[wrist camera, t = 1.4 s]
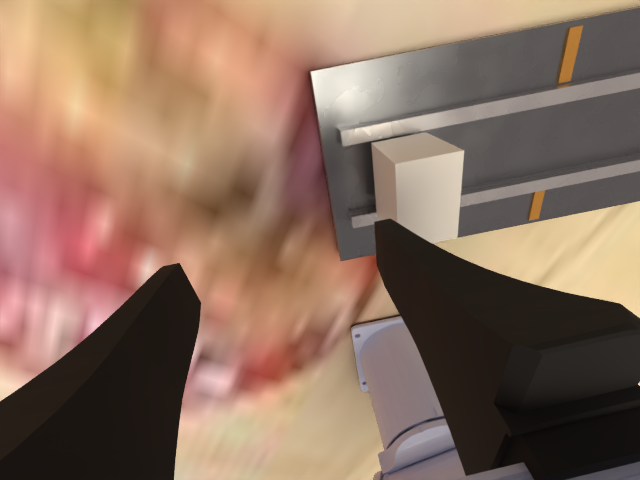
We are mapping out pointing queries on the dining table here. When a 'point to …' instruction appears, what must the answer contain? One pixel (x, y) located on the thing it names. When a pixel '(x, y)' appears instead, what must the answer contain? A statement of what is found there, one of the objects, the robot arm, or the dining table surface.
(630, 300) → the dining table surface
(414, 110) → the fader console
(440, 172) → the fader tab
